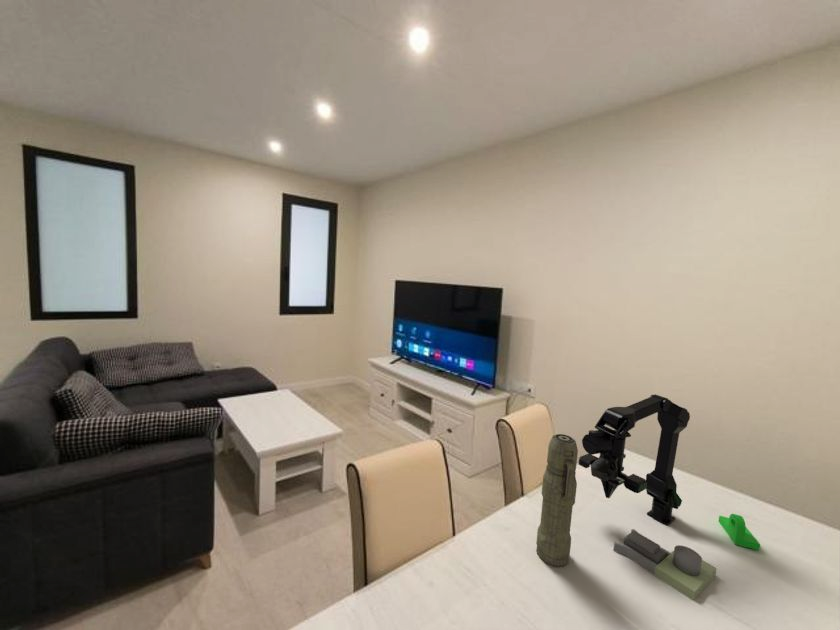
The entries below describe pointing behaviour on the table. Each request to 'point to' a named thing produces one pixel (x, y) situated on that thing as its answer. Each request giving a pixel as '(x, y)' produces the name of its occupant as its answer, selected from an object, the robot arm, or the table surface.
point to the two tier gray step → (645, 547)
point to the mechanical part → (739, 531)
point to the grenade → (557, 501)
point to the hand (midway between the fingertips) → (607, 497)
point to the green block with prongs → (676, 568)
